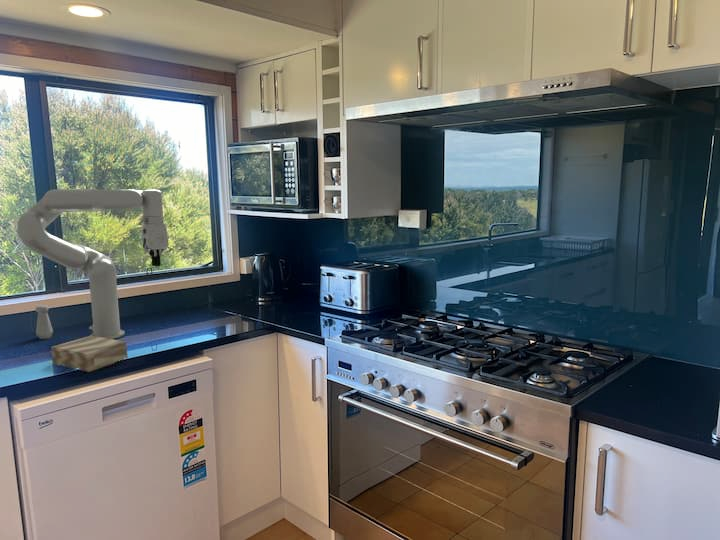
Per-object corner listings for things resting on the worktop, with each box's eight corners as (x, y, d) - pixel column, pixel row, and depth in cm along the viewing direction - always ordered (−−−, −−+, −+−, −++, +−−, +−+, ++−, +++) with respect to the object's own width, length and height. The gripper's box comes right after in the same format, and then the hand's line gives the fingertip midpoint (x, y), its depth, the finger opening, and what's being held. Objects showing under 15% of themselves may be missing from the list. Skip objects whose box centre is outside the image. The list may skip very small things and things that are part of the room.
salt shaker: (38, 336, 214) (35, 304, 211) (54, 335, 216) (51, 303, 213) (35, 340, 208) (31, 307, 206) (51, 338, 210) (48, 306, 208)
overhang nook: (53, 363, 181) (51, 346, 180) (92, 351, 194) (91, 335, 193) (88, 371, 173) (87, 354, 172) (127, 358, 186) (126, 341, 185)
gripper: (145, 222, 207) (148, 269, 210) (174, 219, 220) (176, 263, 223) (131, 221, 210) (134, 267, 213) (160, 219, 223) (163, 262, 226)
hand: (156, 265), depth 218 cm, fingers closed
